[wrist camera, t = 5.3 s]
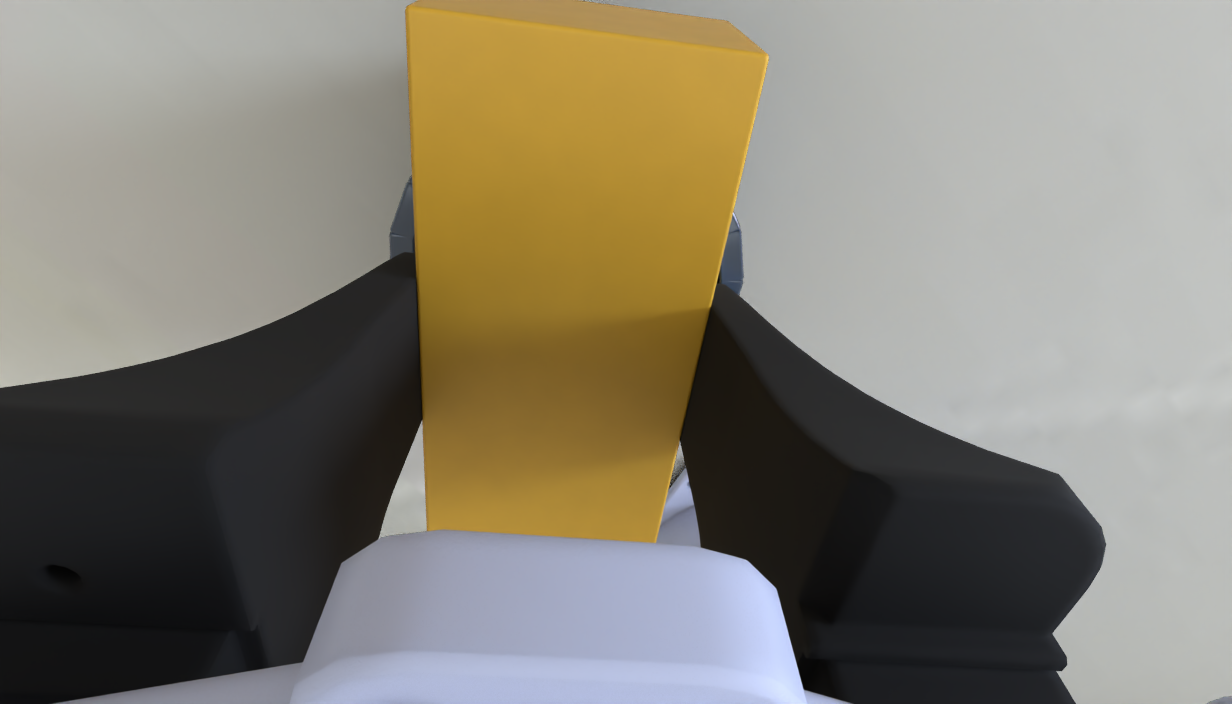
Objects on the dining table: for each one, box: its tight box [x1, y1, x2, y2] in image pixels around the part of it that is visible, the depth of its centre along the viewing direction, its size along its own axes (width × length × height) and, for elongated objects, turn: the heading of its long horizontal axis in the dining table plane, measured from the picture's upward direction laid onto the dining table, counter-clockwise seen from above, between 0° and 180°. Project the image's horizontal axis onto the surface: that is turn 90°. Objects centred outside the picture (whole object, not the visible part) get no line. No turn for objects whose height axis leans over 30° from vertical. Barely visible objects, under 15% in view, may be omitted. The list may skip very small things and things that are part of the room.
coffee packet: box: [405, 0, 769, 543], centre depth 12 cm, size 10×4×3 cm, turn 173°
